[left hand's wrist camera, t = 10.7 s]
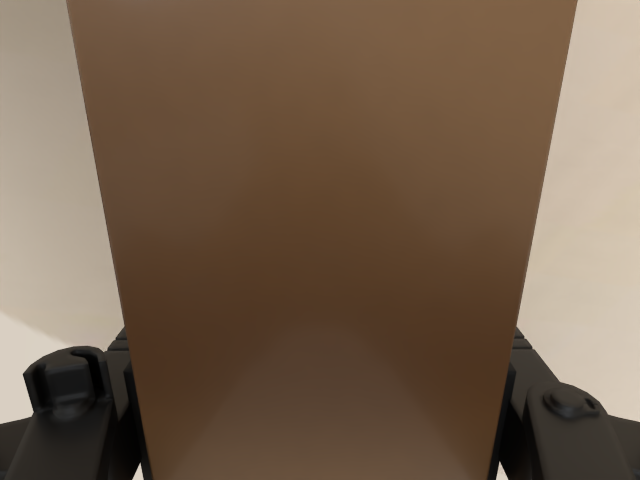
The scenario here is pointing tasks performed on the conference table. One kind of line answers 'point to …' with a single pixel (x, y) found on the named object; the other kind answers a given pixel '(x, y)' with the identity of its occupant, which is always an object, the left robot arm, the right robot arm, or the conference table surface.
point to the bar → (320, 223)
